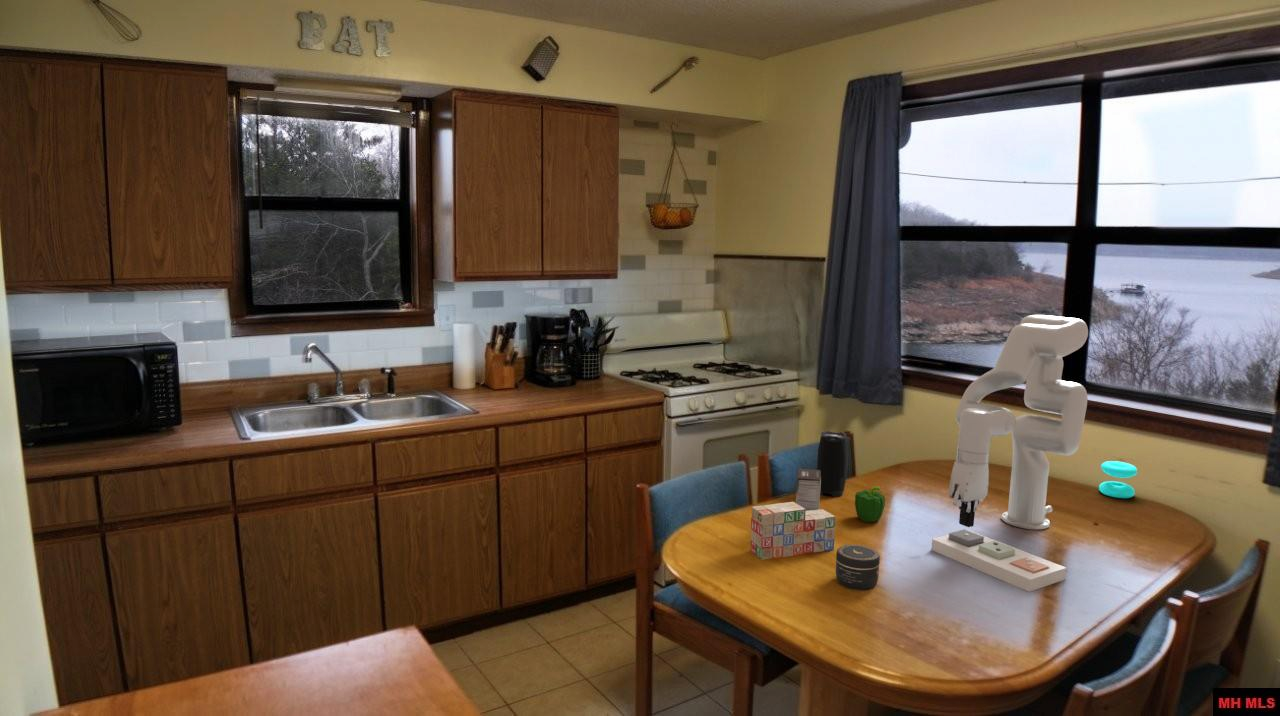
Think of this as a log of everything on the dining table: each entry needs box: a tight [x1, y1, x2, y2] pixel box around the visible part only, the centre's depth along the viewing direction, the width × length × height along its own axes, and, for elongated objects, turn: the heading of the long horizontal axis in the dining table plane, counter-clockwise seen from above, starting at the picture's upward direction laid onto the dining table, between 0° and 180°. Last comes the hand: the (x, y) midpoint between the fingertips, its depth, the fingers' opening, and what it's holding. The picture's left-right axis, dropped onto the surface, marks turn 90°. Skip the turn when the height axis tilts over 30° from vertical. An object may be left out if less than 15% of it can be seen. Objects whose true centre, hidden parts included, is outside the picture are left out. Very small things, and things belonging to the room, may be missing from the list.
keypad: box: [930, 529, 1067, 592], centre depth 199 cm, size 14×28×3 cm, turn 30°
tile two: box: [978, 540, 1015, 560], centre depth 199 cm, size 6×6×3 cm
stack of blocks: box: [750, 501, 836, 560], centre depth 206 cm, size 21×6×12 cm, turn 109°
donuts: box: [1098, 460, 1138, 499], centre depth 255 cm, size 10×10×10 cm
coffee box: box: [795, 468, 821, 511], centre depth 221 cm, size 9×6×16 cm
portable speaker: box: [816, 430, 849, 498], centre depth 251 cm, size 9×9×20 cm
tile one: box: [948, 528, 984, 547], centre depth 207 cm, size 6×6×3 cm
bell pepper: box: [854, 485, 886, 523], centre depth 229 cm, size 8×8×10 cm
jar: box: [835, 544, 881, 591], centre depth 187 cm, size 10×10×8 cm
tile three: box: [1010, 558, 1049, 574], centre depth 192 cm, size 6×6×3 cm
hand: (966, 525), depth 206 cm, fingers closed
